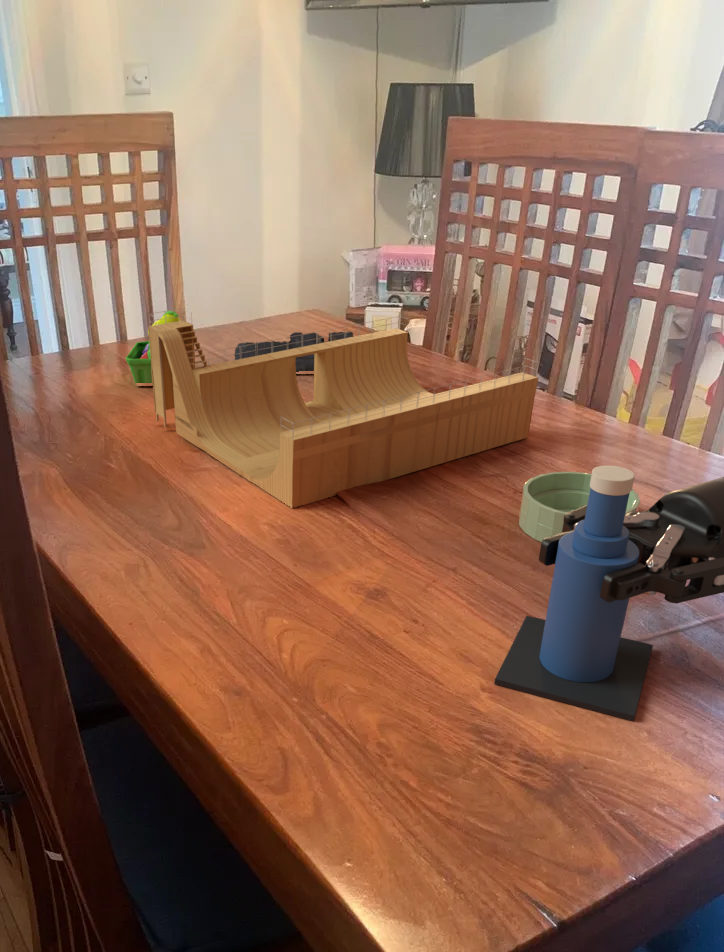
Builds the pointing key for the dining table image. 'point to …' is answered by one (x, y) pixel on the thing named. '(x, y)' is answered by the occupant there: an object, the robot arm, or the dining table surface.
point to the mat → (602, 696)
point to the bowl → (556, 501)
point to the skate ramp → (329, 412)
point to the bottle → (590, 584)
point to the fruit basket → (146, 354)
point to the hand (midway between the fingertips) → (573, 570)
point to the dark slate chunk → (288, 347)
